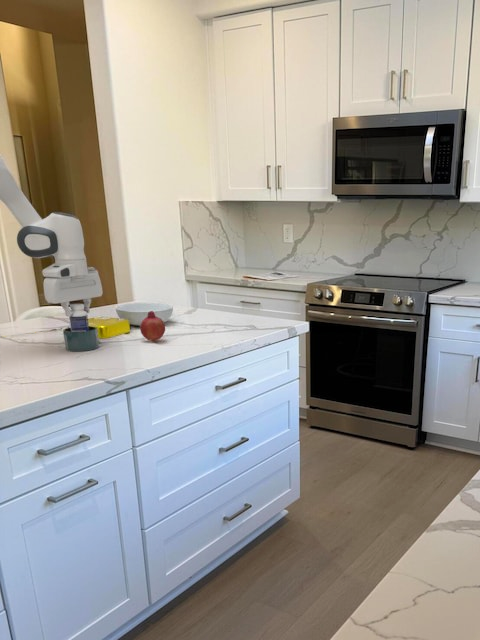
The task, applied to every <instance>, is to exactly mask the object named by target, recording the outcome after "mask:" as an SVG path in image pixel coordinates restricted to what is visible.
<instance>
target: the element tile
mask: <svg viewBox="0 0 480 640" xmlns="http://www.w3.org/2000/svg"><path fill="white" fill-rule="evenodd" d="M88 323H89V326H91V327H96V328H97V331H98V339H99V340H100V339H101V340H102V339H103V340H104V339H110V338H113V337H117V336H119V335H123V334H124V335H125V334H127V333H128V334H129V333H130V332H131V324H130V323H129V320H128V319H120V318H119V317H118V318H117V317H108V316H103V315H98V316H94V317H88Z"/></svg>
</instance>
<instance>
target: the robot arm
mask: <svg viewBox="0 0 480 640" xmlns="http://www.w3.org/2000/svg"><path fill="white" fill-rule="evenodd" d="M0 202H2V203H3V204H4V205H5V206H6V207H7V208H8V210H9V212H11V214H12V215H13V217H14V218H15V219H16V221H17V223H18V224H19V225H20V226H21V227H22V228H20V229H19V231H18V233H17V235H16V243H17V246H18V249H19V250H20V251H21V252H22V253H23V254H24V255H25V256H27V257H29V258H33V259H43V258H52V257H54V263H52V264H50V265H49V266H47V267H45V268H43V269H42V271H41V273H42V276H43V277H44V279H43V285H42V286H43V293H44V295H43V296H44V299H45V301H46V302H47V303H48V304H54V305H55V304H60V306H61V308H62V309H63V310H64V315H65V316H66V317H68V318H69V317H70V316H73V310H71V309H70V305H71V303H70V302H74V301H80V300H82V302H83V304H84V311H86V312H87V314H90V312H91V311H90V306H91V303H92V299H93V298H94V299H95V298H100V297H102V296H103V293H104V292H103V291H104V290H103V286H102V282H101V278H100V275H99V270H97V268H95V267H94V266H90V267H88V263H87V257H86V254H85V239H84V233H83V227H82V224H81V223H82V222H80V219H79V218H78V217H77V216H75V215H74V214H70V213H65V212H59V211H53V212H52V213H50V214H49V215H48V216H46V217H44V218H43V217H42V216H41V215H40V214H39V212H38V211H37V209H36V208H35V207H34V206H33V204H32V203H31V201H30V200H29V198H28V197H27V196H26V195H25V193H24V192H23V191H22V188H20V186H19V184H18V182H17V180H16V179H15V177H14V175H13V174H12V171H11V170H10V168H9V166H8V164H7V163H6V160H5V159H4V157H3V156H2V154H1V153H0Z"/></svg>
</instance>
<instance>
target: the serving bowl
mask: <svg viewBox="0 0 480 640" xmlns="http://www.w3.org/2000/svg"><path fill="white" fill-rule="evenodd" d="M115 311H116V315H117V316H118V318H120V319H128V320H129V323H130V326H131V325H132V326H136V327H141V323H142V321H143V320H144V319H145V318H146V317H147V316H148V312H150V311H153V312H154V314H155V316H156V317H159V318H160V319H162V321H163V322H164V323H166V322H168V321H169V320H170V318H171V317H172V315H173V311H174V306H173V305H172V304H169V303H166V302H165V303H163V302H155V301H154V302H153V301H152V302H151V301H147V302H145V301H143V302H130V303H123V304H119V305H117V306H115Z"/></svg>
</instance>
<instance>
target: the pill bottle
mask: <svg viewBox="0 0 480 640" xmlns="http://www.w3.org/2000/svg"><path fill="white" fill-rule="evenodd" d="M69 308H70V310H73V316H70V317H68V318H69V326H70V327H71V332H83V331H89V323H88V319H89V316H88V313H87V312H86V311H84V303H70V305H69Z"/></svg>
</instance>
